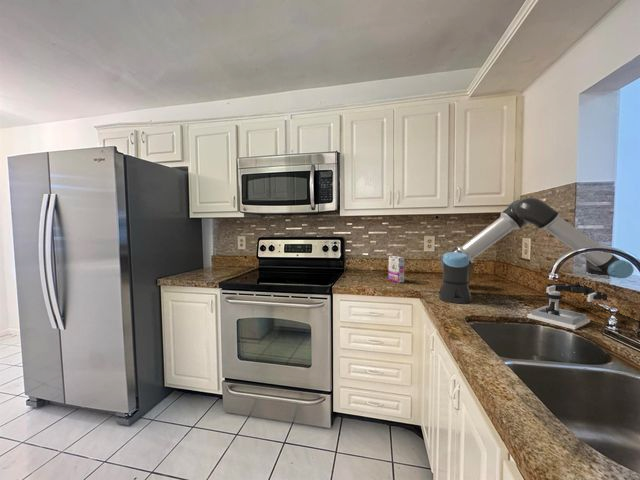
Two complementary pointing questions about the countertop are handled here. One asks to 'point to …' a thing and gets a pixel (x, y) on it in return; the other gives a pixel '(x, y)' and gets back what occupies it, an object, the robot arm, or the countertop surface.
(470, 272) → the plant pot
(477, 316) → the countertop surface
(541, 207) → the robot arm
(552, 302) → the push button
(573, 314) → the tray
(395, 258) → the candy bar box
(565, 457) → the countertop surface
